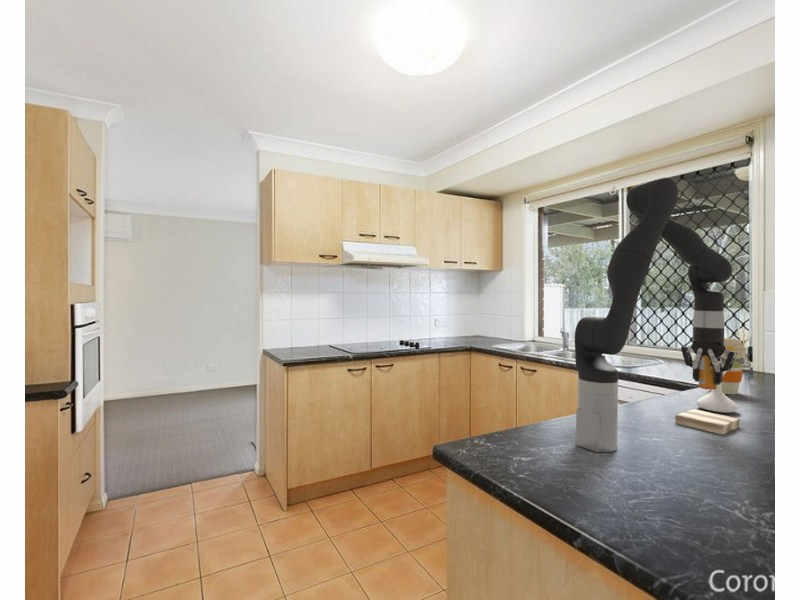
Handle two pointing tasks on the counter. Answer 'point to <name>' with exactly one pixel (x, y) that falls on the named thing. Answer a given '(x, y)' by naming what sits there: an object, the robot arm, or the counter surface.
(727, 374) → the reusable coffee cup
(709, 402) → the flower in vase
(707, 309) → the robot arm
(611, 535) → the counter surface
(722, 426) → the birch base
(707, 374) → the supplement box
